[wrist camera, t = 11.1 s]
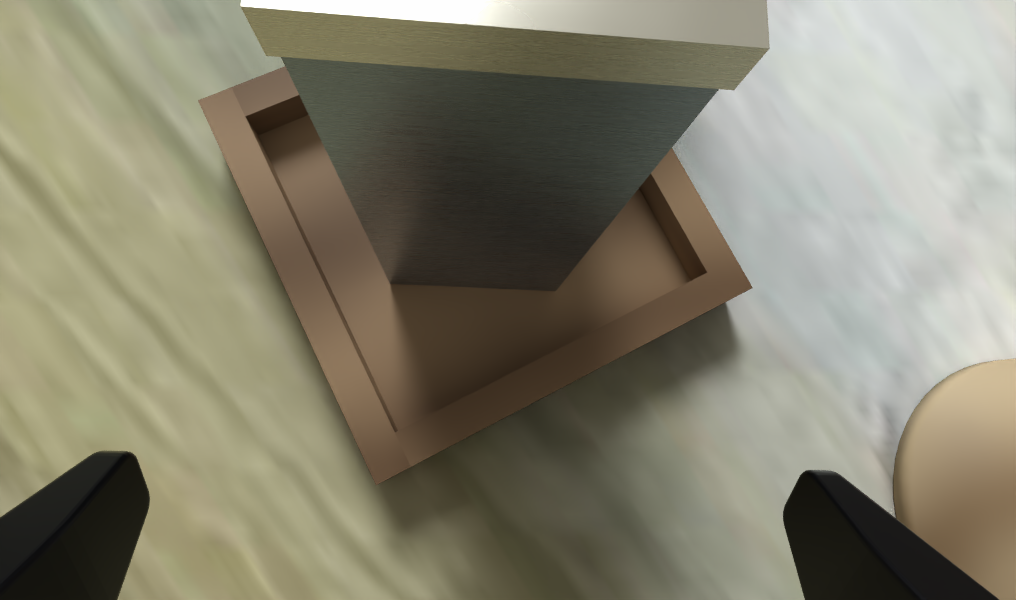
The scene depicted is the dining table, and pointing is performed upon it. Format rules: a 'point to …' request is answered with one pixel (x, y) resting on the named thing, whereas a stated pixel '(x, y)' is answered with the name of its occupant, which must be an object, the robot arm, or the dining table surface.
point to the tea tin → (502, 117)
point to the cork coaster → (964, 473)
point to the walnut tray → (455, 290)
